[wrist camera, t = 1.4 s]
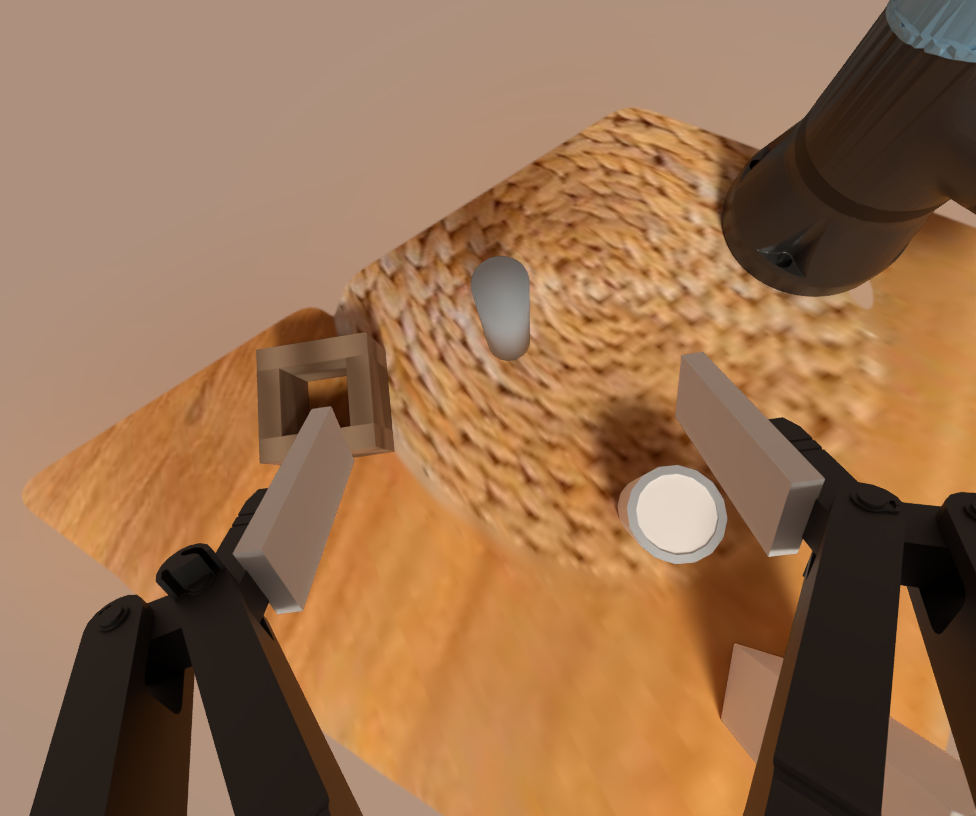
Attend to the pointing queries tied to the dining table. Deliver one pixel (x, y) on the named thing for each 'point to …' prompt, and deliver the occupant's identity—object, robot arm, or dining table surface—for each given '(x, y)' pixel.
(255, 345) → the dining table surface
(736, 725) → the milk
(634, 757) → the dining table surface
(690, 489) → the grey and white cylinder
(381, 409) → the socket
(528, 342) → the grey cylinder
